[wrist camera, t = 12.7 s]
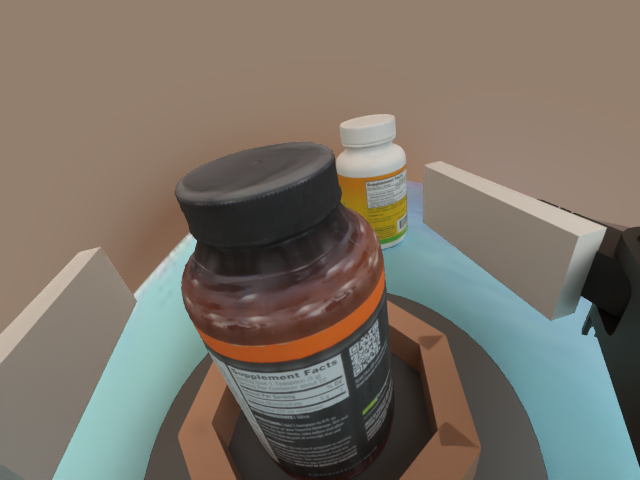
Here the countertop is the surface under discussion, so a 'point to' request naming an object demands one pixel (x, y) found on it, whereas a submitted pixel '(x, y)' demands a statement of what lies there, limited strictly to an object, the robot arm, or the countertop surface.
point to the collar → (406, 342)
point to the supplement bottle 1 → (292, 305)
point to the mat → (408, 423)
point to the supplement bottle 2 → (374, 175)
